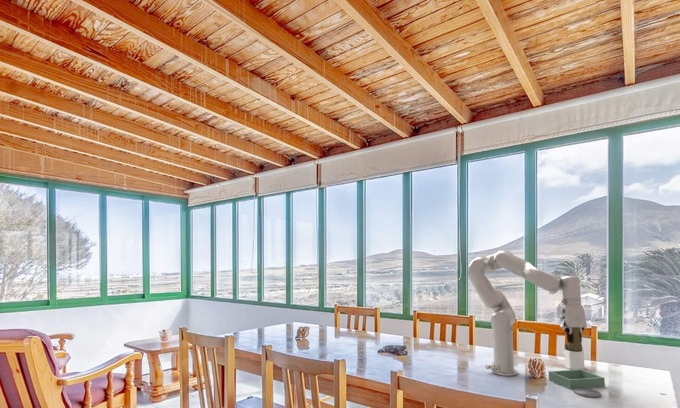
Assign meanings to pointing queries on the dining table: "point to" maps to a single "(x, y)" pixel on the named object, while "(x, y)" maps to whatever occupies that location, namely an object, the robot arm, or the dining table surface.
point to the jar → (574, 359)
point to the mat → (587, 392)
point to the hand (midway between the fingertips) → (574, 341)
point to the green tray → (576, 379)
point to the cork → (575, 340)
